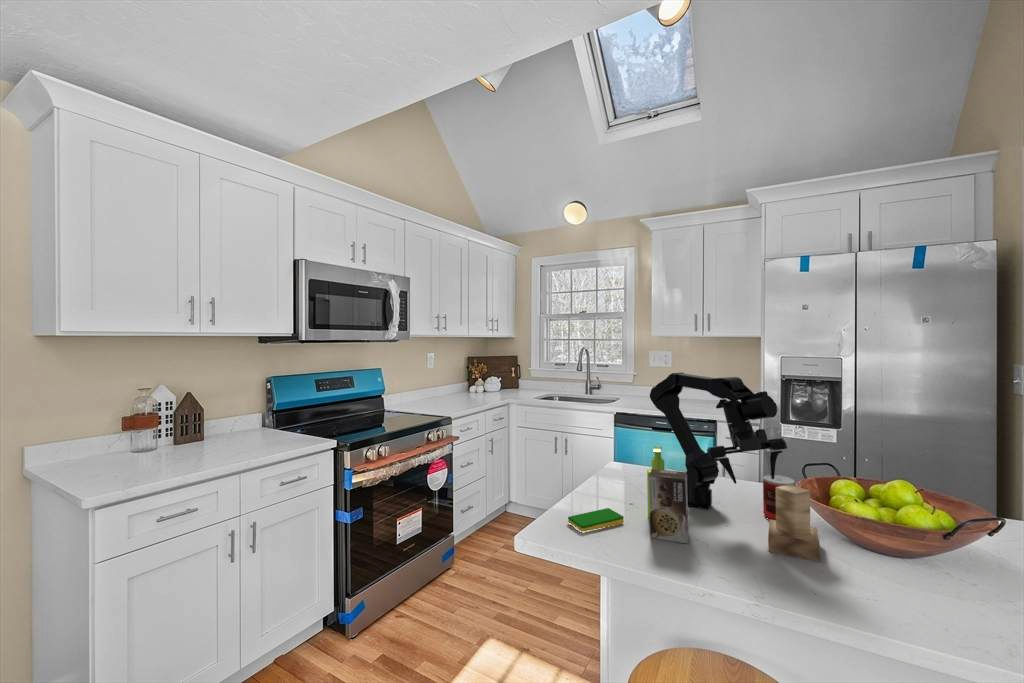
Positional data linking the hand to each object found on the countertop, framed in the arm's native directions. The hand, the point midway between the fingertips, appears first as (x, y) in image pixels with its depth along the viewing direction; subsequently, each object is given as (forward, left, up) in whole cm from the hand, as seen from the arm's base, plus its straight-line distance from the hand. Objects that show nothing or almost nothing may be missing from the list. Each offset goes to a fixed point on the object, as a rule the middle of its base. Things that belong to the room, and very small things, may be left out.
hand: (754, 481), depth 118 cm
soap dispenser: (-23, -6, -12) cm, 27 cm away
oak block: (+9, -8, -8) cm, 14 cm away
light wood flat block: (+9, -8, -12) cm, 17 cm away
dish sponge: (-37, -18, -13) cm, 44 cm away
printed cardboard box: (-18, -16, -12) cm, 27 cm away
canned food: (+6, +10, -12) cm, 17 cm away
